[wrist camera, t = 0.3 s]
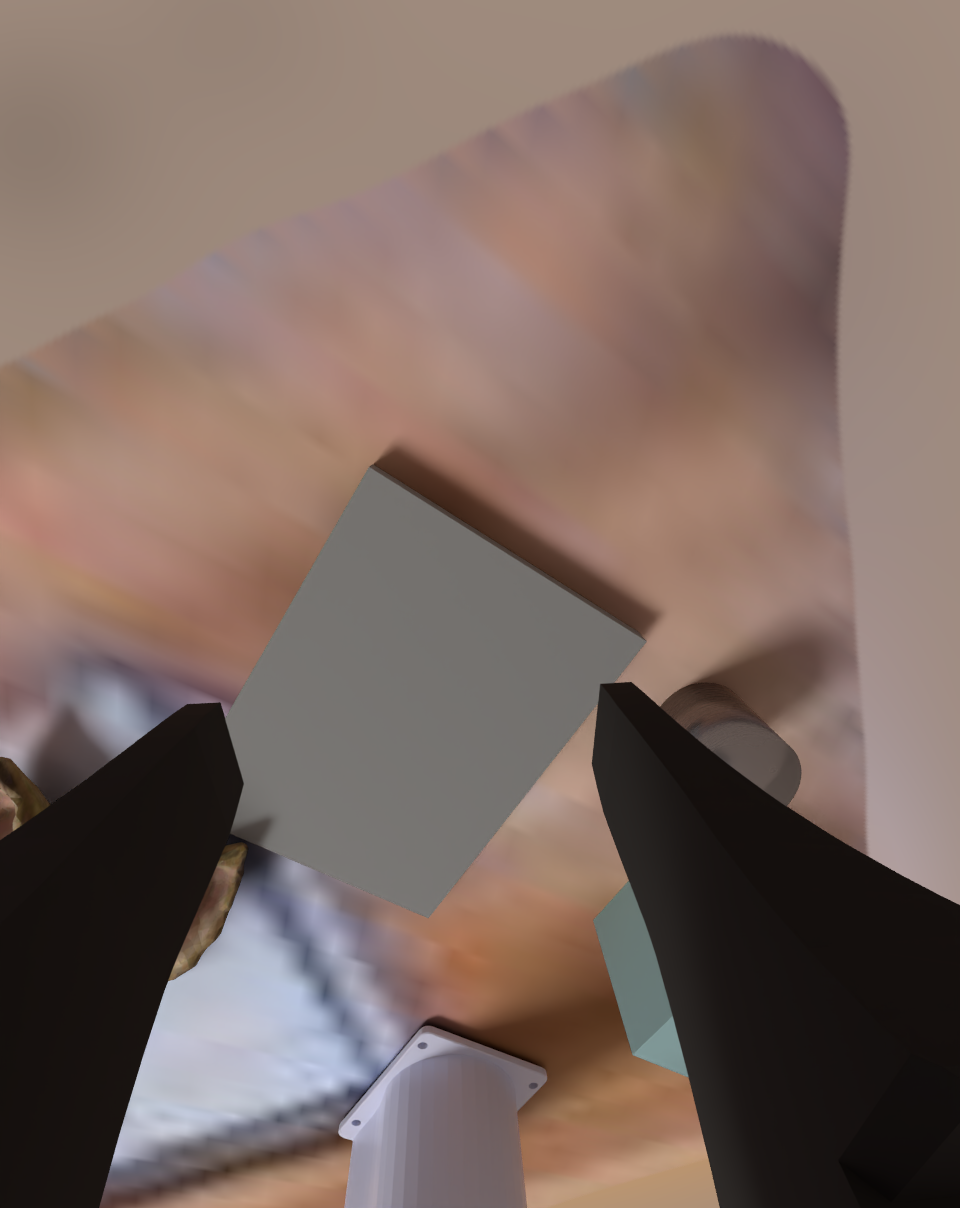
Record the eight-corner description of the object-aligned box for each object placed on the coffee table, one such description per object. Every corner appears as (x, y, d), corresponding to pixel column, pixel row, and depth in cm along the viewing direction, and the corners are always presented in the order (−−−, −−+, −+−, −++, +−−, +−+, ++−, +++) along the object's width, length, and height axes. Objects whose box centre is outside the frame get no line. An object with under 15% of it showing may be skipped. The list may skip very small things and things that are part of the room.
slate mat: (429, 899, 26) (428, 918, 25) (184, 793, 23) (173, 809, 22) (637, 631, 22) (646, 641, 21) (373, 464, 19) (369, 466, 18)
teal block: (662, 952, 28) (718, 1089, 22) (593, 919, 27) (632, 1054, 21) (719, 892, 27) (793, 1021, 21) (649, 856, 26) (707, 981, 20)
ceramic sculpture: (-314, 1234, 17) (-200, 873, 14) (-72, 974, 25) (33, 712, 22) (45, 1290, 19) (209, 992, 16) (158, 1035, 28) (281, 806, 25)
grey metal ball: (702, 777, 24) (750, 844, 21) (634, 738, 23) (669, 800, 20) (762, 710, 23) (824, 767, 20) (693, 666, 22) (743, 717, 19)
